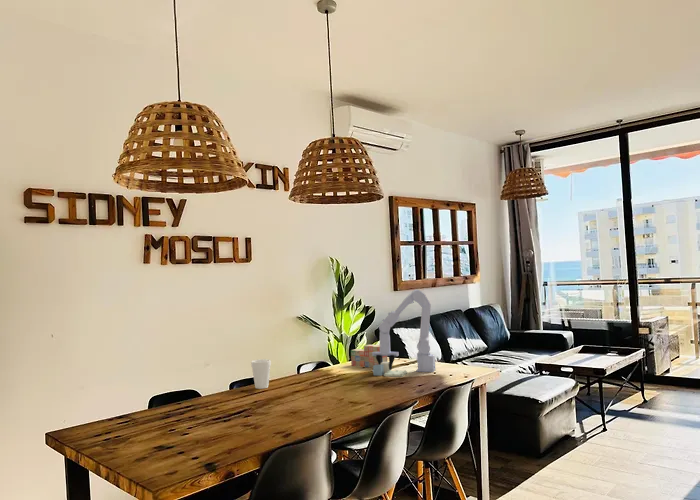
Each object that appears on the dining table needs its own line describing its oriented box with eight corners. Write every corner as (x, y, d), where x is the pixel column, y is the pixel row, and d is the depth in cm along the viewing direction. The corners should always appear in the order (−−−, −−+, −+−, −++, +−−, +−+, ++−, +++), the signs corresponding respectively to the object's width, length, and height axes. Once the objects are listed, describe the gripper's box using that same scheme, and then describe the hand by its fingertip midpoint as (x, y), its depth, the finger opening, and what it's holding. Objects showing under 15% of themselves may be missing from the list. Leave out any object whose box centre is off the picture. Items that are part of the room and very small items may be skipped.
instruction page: (384, 369, 296) (384, 369, 296) (382, 371, 292) (382, 370, 292) (373, 369, 298) (373, 369, 298) (371, 371, 294) (371, 370, 294)
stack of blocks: (351, 366, 313) (350, 345, 314) (356, 364, 319) (355, 343, 319) (382, 368, 302) (382, 346, 303) (388, 366, 307) (387, 345, 308)
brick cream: (391, 371, 292) (390, 362, 292) (388, 372, 288) (388, 363, 288) (383, 370, 294) (383, 361, 294) (380, 372, 290) (380, 363, 290)
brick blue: (383, 374, 285) (383, 364, 285) (381, 375, 281) (381, 366, 281) (375, 373, 287) (375, 364, 287) (373, 375, 282) (373, 366, 283)
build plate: (406, 373, 285) (406, 370, 285) (402, 376, 275) (402, 374, 275) (388, 372, 288) (388, 369, 288) (383, 376, 279) (383, 373, 279)
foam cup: (269, 384, 269) (269, 358, 269) (272, 388, 260) (272, 361, 260) (251, 386, 266) (250, 360, 266) (253, 390, 257) (252, 363, 257)
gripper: (370, 345, 290) (371, 370, 289) (396, 345, 285) (397, 370, 285) (373, 343, 297) (374, 367, 296) (399, 343, 292) (400, 368, 291)
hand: (386, 369), depth 291 cm, fingers open, 5 cm apart
